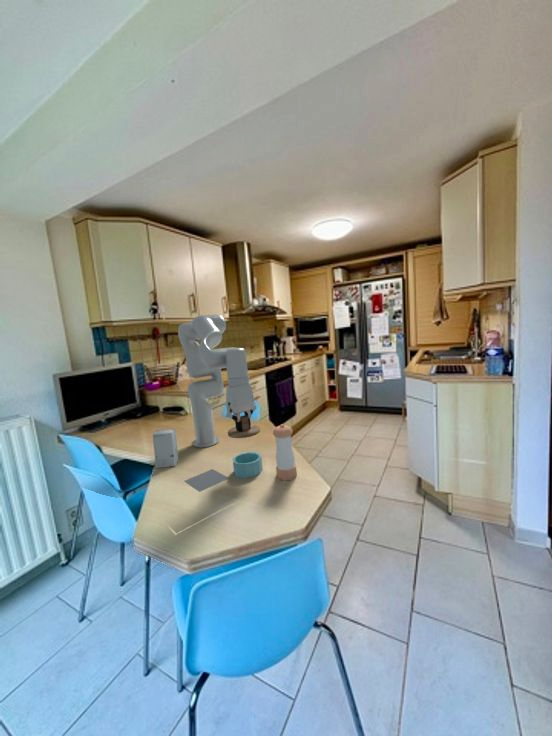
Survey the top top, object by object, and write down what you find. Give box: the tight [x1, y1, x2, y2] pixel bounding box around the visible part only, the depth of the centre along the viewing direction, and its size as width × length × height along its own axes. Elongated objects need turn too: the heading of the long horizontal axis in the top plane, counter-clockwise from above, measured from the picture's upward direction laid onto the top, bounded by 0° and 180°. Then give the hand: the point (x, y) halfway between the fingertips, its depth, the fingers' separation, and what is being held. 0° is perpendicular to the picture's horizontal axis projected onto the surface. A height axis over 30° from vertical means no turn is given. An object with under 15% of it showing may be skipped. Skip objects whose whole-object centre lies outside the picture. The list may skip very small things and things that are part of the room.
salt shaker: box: [272, 423, 298, 481], centre depth 109 cm, size 7×7×19 cm
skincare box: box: [152, 428, 179, 469], centre depth 129 cm, size 8×6×15 cm
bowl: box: [232, 451, 264, 479], centre depth 116 cm, size 11×11×6 cm
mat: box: [184, 468, 230, 493], centre depth 112 cm, size 12×12×1 cm
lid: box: [227, 414, 261, 439], centre depth 114 cm, size 12×12×6 cm
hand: (243, 429), depth 114 cm, fingers closed on lid, 3 cm apart
